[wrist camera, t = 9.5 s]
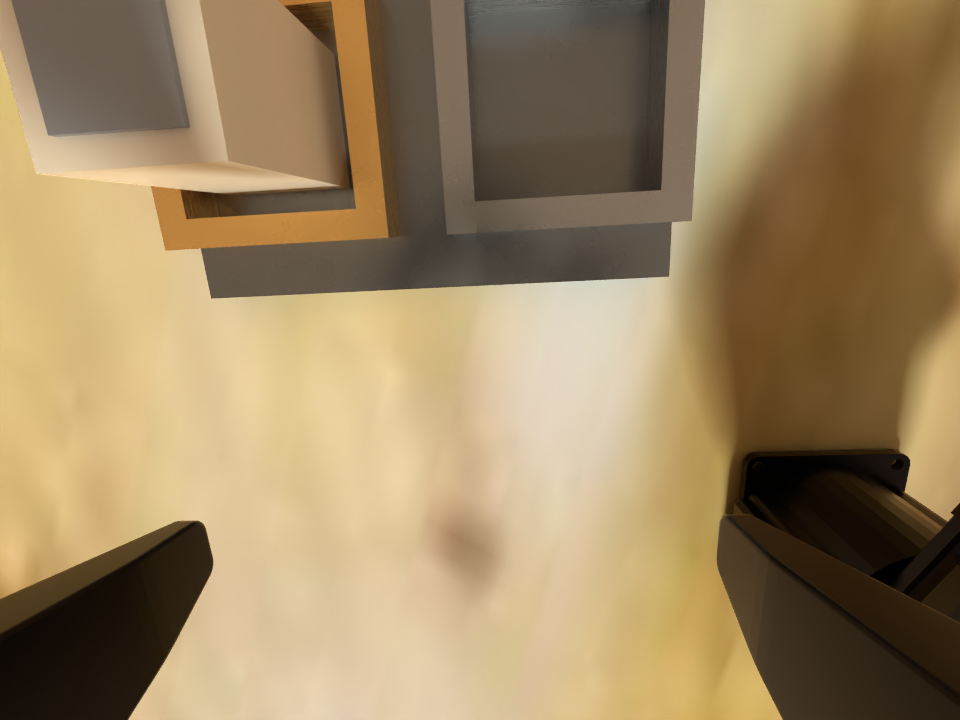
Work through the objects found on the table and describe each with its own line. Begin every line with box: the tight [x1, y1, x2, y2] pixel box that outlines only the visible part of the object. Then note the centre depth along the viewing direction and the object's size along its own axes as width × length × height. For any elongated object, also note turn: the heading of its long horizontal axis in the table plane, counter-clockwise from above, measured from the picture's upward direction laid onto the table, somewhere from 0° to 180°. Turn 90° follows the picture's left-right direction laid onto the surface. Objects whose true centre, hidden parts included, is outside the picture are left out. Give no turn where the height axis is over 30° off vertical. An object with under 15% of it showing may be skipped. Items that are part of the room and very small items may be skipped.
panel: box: [151, 0, 705, 298], centre depth 17 cm, size 18×12×3 cm, turn 93°
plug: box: [0, 0, 350, 195], centre depth 14 cm, size 4×4×8 cm
